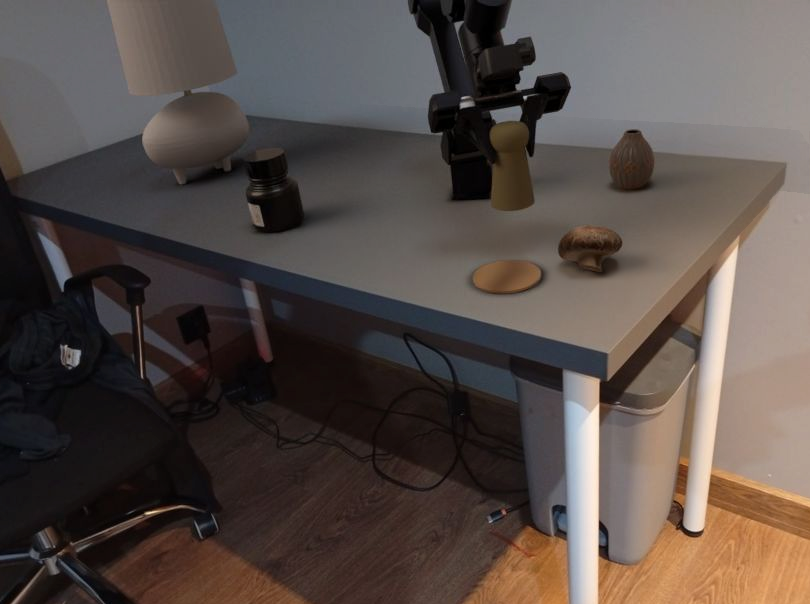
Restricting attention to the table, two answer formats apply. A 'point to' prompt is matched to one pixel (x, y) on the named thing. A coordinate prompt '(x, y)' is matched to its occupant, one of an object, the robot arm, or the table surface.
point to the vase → (631, 161)
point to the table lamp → (181, 80)
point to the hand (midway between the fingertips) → (512, 159)
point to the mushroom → (589, 246)
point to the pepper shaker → (510, 167)
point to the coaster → (507, 276)
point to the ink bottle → (272, 191)
